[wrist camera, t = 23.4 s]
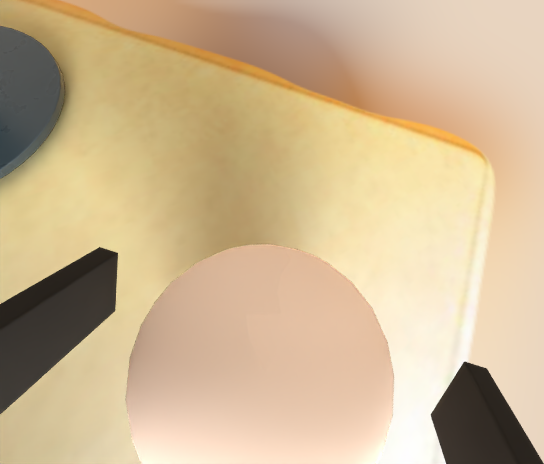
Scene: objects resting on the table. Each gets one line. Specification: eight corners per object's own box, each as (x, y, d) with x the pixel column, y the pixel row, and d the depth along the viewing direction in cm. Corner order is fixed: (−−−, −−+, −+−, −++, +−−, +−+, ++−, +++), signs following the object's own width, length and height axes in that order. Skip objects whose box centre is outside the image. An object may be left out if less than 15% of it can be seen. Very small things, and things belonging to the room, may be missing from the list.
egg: (141, 402, 16) (-107, 485, 5) (234, 257, 19) (202, 120, 8) (295, 507, 14) (402, 928, 4) (368, 333, 17) (541, 286, 7)
